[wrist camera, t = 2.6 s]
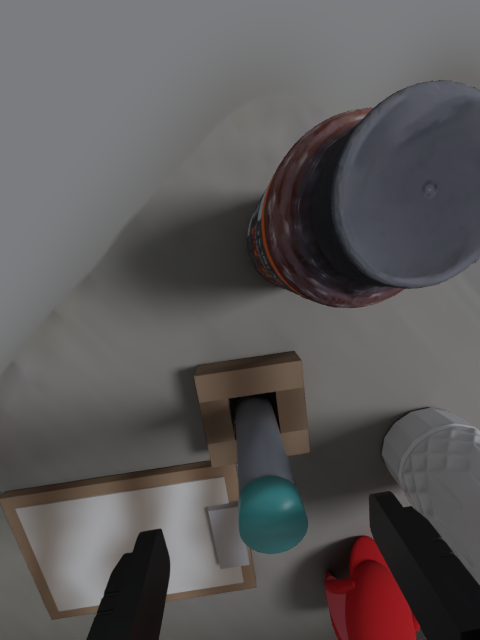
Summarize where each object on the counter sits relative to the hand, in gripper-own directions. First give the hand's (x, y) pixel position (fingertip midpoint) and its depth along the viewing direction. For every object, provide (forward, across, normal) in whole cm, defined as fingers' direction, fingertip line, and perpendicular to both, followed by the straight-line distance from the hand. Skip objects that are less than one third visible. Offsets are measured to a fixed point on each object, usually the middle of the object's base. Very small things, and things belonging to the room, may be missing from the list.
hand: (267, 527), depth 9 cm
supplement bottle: (+9, -4, -11) cm, 15 cm away
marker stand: (+9, 0, 0) cm, 9 cm away
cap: (+9, -7, +18) cm, 22 cm away
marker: (+9, 0, 0) cm, 9 cm away
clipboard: (+9, +11, +11) cm, 18 cm away
